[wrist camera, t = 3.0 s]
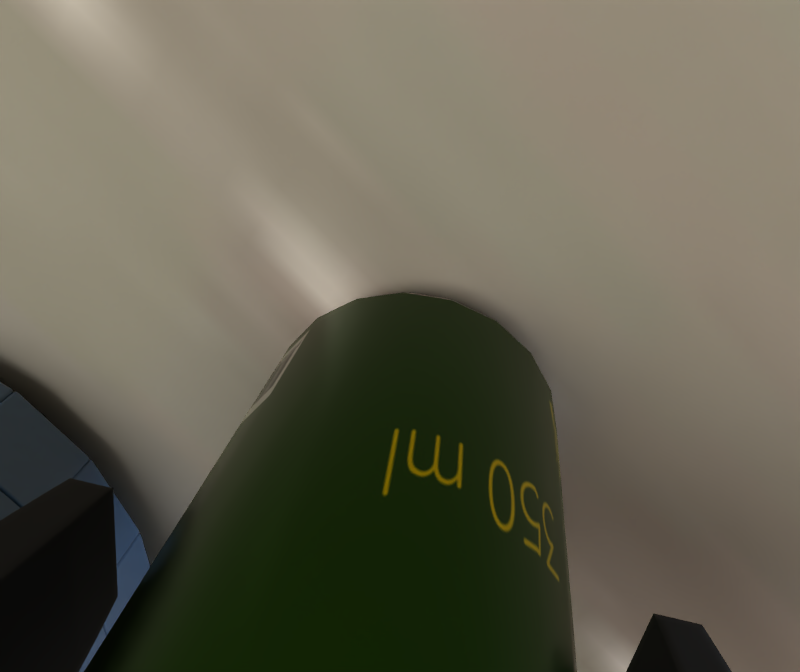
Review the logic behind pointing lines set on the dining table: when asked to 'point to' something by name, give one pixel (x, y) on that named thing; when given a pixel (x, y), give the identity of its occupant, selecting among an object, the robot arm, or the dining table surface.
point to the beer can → (371, 513)
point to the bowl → (47, 468)
